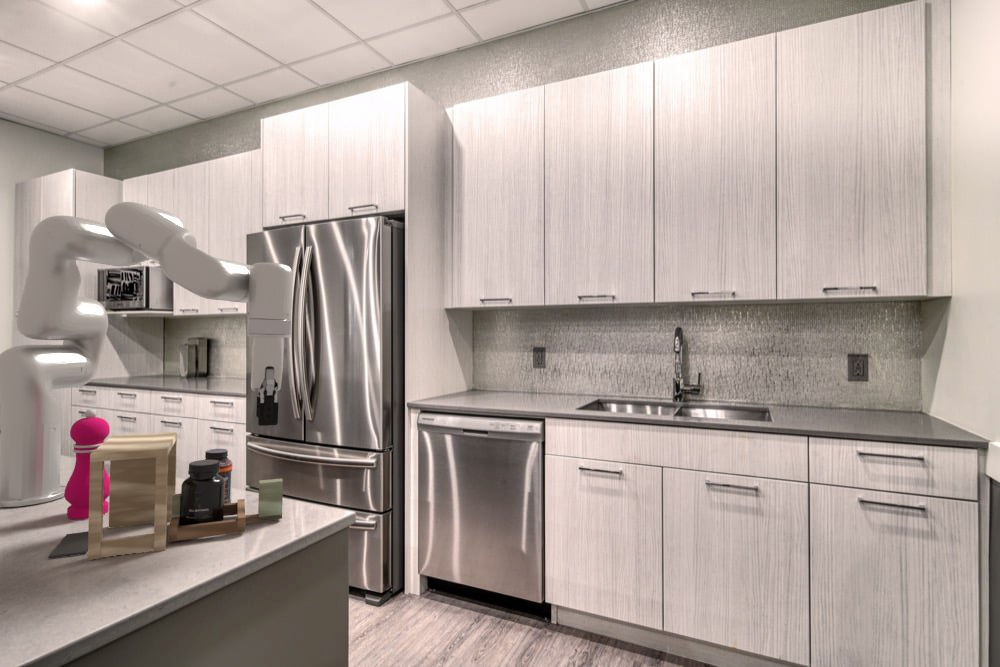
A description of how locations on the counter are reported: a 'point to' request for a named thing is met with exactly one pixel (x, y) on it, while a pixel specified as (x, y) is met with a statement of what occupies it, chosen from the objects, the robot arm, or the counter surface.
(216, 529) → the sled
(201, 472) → the supplement bottle
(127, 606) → the counter surface
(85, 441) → the pepper mill
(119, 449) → the tunnel
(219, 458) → the supplement bottle
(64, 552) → the mat
